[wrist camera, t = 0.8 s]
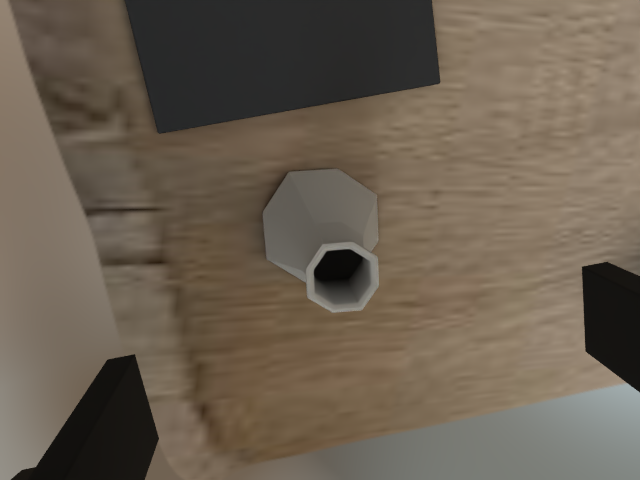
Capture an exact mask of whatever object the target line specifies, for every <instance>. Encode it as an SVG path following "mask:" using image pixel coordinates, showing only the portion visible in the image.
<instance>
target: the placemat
mask: <svg viewBox="0 0 640 480" xmlns="http://www.w3.org/2000/svg"><path fill="white" fill-rule="evenodd" d="M125 3H126V7H127V11H128V15H129V19H130V23H131V27H132V31H133V35H134V39H135V43H136V47H137V51H138V55H139V59H140V63H141V67H142V71H143V75H144V79H145V83H146V87H147V91H148V95H149V99H150V103H151V107H152V111H153V115H154V119H155V123H156V127H157V131H158V133H166V132H171V131H177V130H182V129H188V128H194V127H199V126H205V125H211V124H216V123H222V122H227V121H233V120H239V119H244V118H250V117H255V116H261V115H267V114H272V113H278V112H283V111H289V110H295V109H300V108H306V107H311V106H317V105H323V104H328V103H334V102H339V101H345V100H351V99H356V98H362V97H368V96H373V95H379V94H384V93H390V92H396V91H401V90H407V89H412V88H418V87H424V86H429V85H435V84H439V83H440V75H439V66H438V56H437V47H436V38H435V28H434V19H433V9H432V0H125Z"/></svg>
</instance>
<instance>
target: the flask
mask: <svg viewBox="0 0 640 480" xmlns="http://www.w3.org/2000/svg"><path fill="white" fill-rule="evenodd" d="M263 224H264V236H265V248H266V259H267V260H269V261H271V262H272V263H274V264H276V265H277V266H279V267H281V268H282V269H284V270H286V271H287V272H289V273H291V274H292V275H294V276H296V277H297V278H299V279H301V280H302V281H304V282H306V288H307V297H308V298H309V299H310V300H312V301H314V302H315V303H317V304H319V305H321V306H322V307H324V308H326V309H327V310H329V311H331V312H332V313H334V312H345V311H357V310H362V309H363V308H364V306H365V305H366V303H367V302H368V301H369V299H370V298H371V296H372V295H373V294H374V292H375V291H376V289H377V288H378V287H379V279H378V257H377V256H376V255H375V254H373V253H372V252H371V251H372V250H373V248H374V247H375V246H376V244H377V243H378V208H377V194H375V193H374V192H372V191H371V190H369V189H368V188H366V187H365V186H363V185H362V184H360V183H359V182H357V181H356V180H354V179H353V178H351V177H350V176H348V175H347V174H345V173H344V172H342V171H341V170H339V169H323V170H308V171H293V172H288V174H287V175H286V177H285V178H284V180H283V182H282V183H281V185H280V186H279V188H278V189H277V191H276V192H275V194H274V195H273V197H272V199H271V200H270V202H269V203H268V205H267V206H266V208H265V209H264V211H263Z"/></svg>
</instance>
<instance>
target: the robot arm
mask: <svg viewBox="0 0 640 480" xmlns="http://www.w3.org/2000/svg"><path fill="white" fill-rule="evenodd" d="M582 277H583V301H584V325H585V348H586V352H587V353H588V354H590V355H591V356H592V357H594V358H595V359H596V360H598V361H599V362H600V363H602V364H603V365H604V366H606V367H607V368H608V369H610V370H611V371H612V372H614V373H615V374H616V375H617V376H619V377H620V378H621V379H623V380H624V381H625V382H627V383H628V384H629V385H631V386H632V387H634V388H635V389H636V390H637V391H639V392H640V276H638V275H636V274H633V273H631V272H629V271H626V270H624V269H622V268H620V267H617V266H615V265H613V264H611V263H608V262H604V263H599V264H594V265H589V266H584V267H582ZM158 440H159V437H158V434H157V430H156V427H155V423H154V420H153V416H152V413H151V409H150V406H149V402H148V399H147V395H146V392H145V388H144V385H143V381H142V378H141V374H140V371H139V368H138V364H137V361H136V357H135V354H134V355H129V356H124V357H119V358H114V359H109V360H107V361H106V363H105V364H104V366H103V367H102V369H101V370H100V372H99V373H98V375H97V376H96V378H95V379H94V381H93V382H92V384H91V385H90V387H89V388H88V390H87V391H86V393H85V394H84V396H83V397H82V399H81V400H80V402H79V403H78V405H77V406H76V408H75V409H74V411H73V412H72V414H71V415H70V417H69V418H68V420H67V421H66V423H65V424H64V426H63V427H62V429H61V430H60V432H59V433H58V435H57V436H56V438H55V439H54V441H53V442H52V444H51V445H50V447H49V448H48V450H47V451H46V453H45V454H44V456H43V457H42V459H41V460H40V462H39V463H38V465H37V466H36V467H35V468H29V469H25V470H22V471H20V472H19V473H18V474H17V475H16V476H15V477H13V478H12V479H11V480H145V477H146V474H147V471H148V468H149V466H150V463H151V460H152V457H153V454H154V451H155V448H156V445H157V442H158Z"/></svg>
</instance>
